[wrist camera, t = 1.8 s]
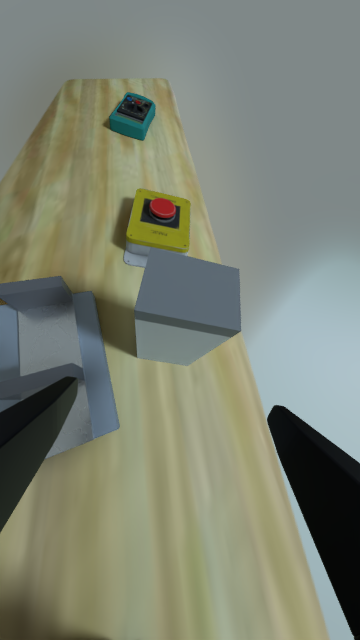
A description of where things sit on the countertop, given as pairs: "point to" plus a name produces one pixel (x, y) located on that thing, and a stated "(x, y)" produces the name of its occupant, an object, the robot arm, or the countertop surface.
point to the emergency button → (157, 226)
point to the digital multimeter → (133, 116)
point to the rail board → (5, 357)
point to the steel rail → (56, 363)
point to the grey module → (185, 307)
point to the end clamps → (30, 297)
